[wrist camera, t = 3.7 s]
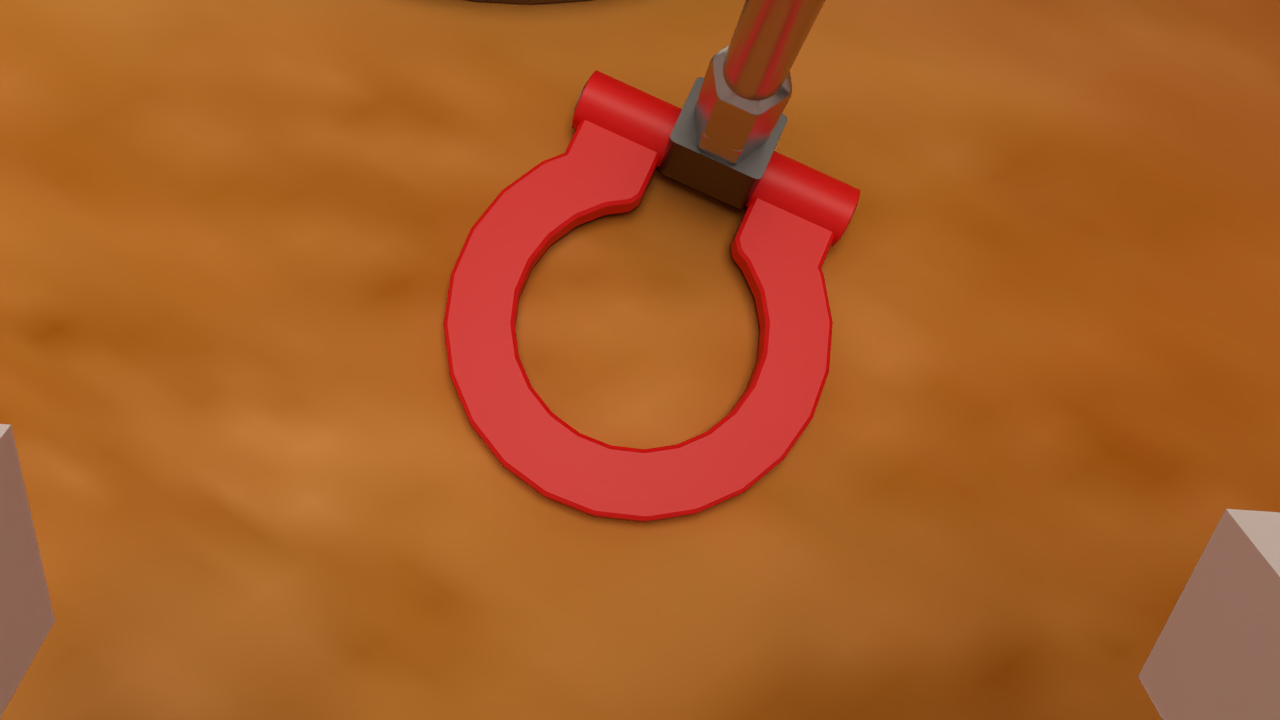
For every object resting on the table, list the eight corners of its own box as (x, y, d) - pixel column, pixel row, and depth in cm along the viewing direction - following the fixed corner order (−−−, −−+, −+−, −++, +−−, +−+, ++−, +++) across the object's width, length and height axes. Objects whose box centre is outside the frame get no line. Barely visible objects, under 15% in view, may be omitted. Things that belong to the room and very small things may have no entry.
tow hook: (734, 583, 23) (885, 216, 25) (959, 615, 11) (1228, -124, 13) (383, 425, 23) (560, 68, 25) (196, 271, 11) (578, -421, 13)
